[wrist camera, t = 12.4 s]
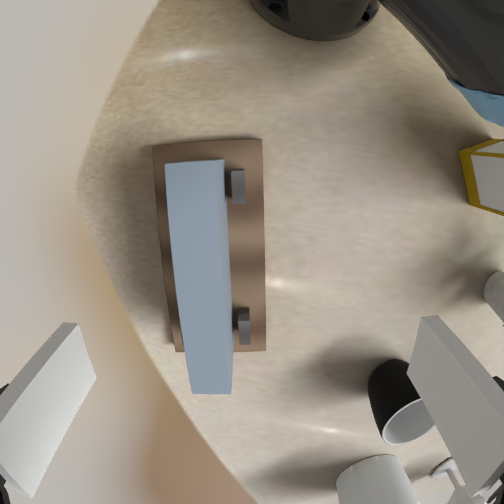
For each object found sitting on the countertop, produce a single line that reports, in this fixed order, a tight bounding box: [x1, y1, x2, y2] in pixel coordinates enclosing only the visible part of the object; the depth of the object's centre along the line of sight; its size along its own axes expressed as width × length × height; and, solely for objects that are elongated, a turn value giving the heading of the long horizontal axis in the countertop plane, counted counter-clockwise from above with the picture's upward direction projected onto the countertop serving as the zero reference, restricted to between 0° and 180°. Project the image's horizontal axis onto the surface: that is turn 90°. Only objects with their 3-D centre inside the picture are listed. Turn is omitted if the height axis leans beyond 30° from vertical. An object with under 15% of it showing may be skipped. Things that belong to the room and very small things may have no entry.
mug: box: [368, 360, 435, 445], centre depth 37 cm, size 12×9×10 cm
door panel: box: [165, 159, 234, 394], centre depth 29 cm, size 20×4×10 cm, turn 2°
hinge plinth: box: [153, 139, 266, 352], centre depth 33 cm, size 24×11×4 cm, turn 2°
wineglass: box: [431, 458, 486, 504], centre depth 42 cm, size 9×9×21 cm
